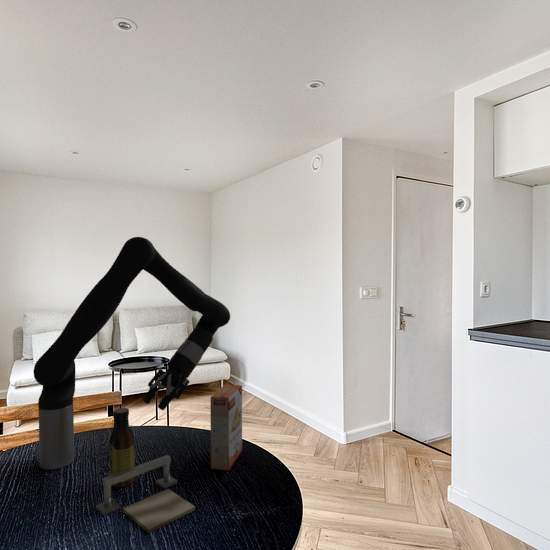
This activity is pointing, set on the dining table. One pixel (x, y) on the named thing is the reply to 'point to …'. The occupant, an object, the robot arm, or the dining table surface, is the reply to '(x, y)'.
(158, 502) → the birch pad
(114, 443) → the sauce bottle
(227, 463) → the cracker box
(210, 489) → the dining table surface
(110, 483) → the grey bar handle
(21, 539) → the dining table surface
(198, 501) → the dining table surface
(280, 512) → the dining table surface
